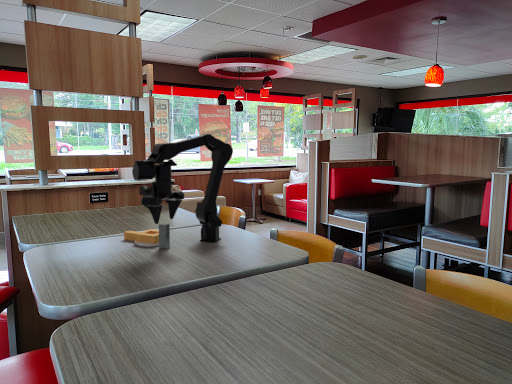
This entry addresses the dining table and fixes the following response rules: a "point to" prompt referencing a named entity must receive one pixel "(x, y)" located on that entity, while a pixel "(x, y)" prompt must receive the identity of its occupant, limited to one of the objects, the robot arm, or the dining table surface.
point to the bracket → (143, 237)
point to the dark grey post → (164, 236)
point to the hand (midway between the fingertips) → (164, 221)
